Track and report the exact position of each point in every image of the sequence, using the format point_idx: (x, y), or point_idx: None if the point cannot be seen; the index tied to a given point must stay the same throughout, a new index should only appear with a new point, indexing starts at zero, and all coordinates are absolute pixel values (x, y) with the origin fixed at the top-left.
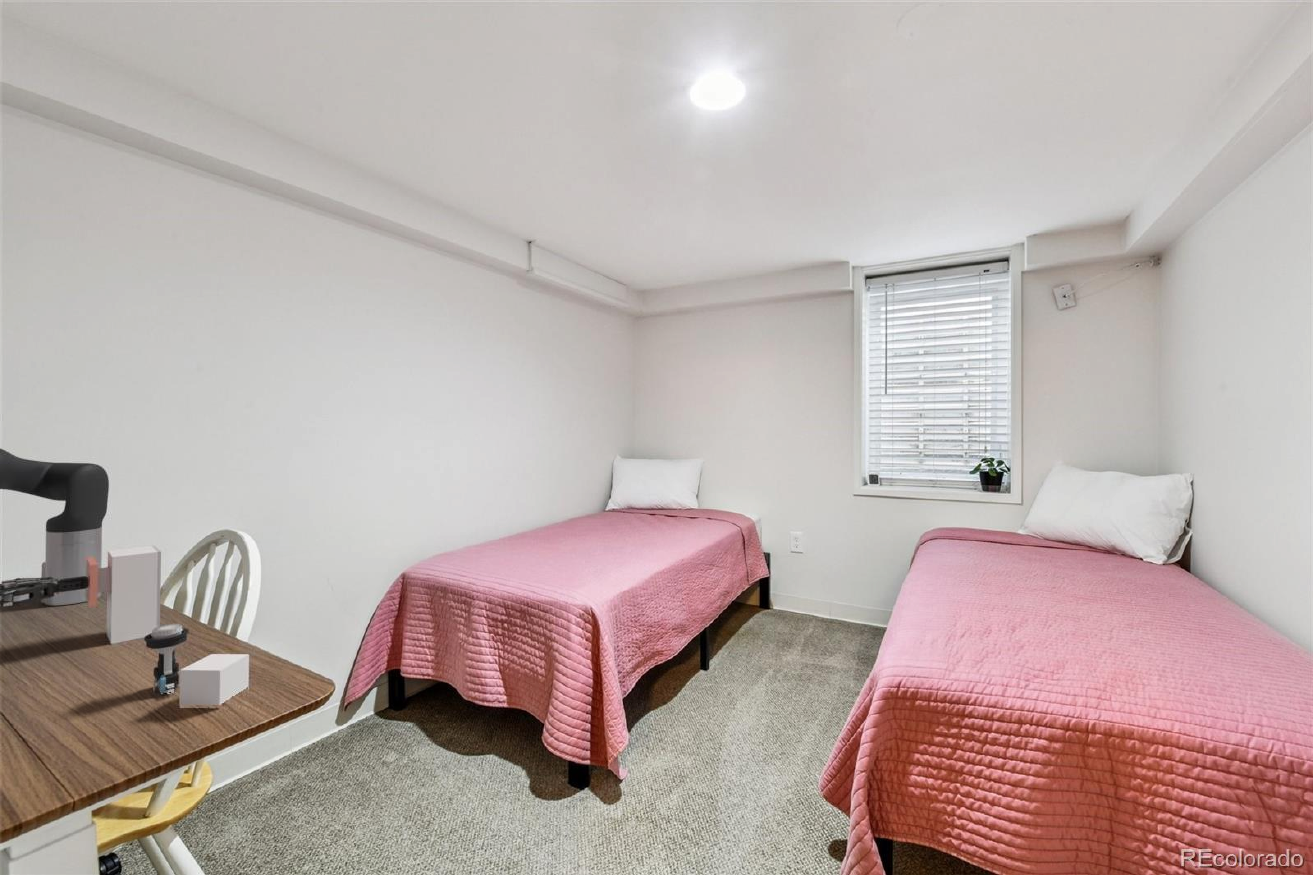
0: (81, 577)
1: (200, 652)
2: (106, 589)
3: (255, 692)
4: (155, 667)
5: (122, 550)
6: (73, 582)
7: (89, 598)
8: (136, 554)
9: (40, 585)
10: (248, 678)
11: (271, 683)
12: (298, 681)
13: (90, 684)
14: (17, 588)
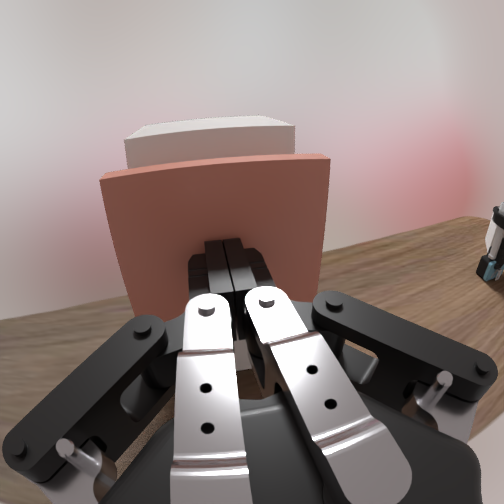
0: (228, 245)
1: (390, 263)
2: None
3: None
4: (502, 257)
5: (162, 129)
6: (266, 268)
7: (306, 290)
8: (275, 119)
9: (371, 324)
10: (488, 228)
11: (473, 230)
12: (468, 222)
13: (482, 334)
14: (394, 418)
